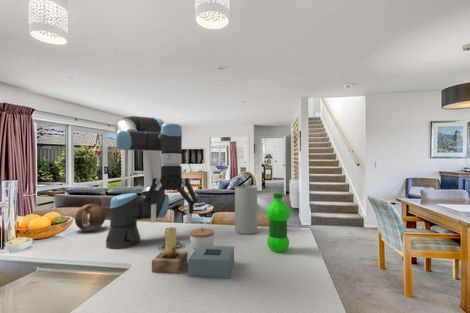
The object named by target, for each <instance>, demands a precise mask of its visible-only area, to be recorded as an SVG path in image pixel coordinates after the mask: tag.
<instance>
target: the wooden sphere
mask: <svg viewBox="0 0 470 313" xmlns="http://www.w3.org/2000/svg"><path fill="white" fill-rule="evenodd" d="M106 215H107V214H106V211H105V210H104V208H103V207H102V206H101V205H98V204H97V203H96V204H95V203H89V204H88V203H87V204H84V205H83V206H81V207H80V208H79V209H78V210H77V211H76V214H75V217H74V222H75V225H76V227H77V228H78V229H80V230H81V231H85V232H91V231H96V230H98V229H99V228H101V227H102V225H103V224H104V223H105V220H106V217H107V216H106Z"/></svg>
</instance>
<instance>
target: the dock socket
mask: <svg viewBox="0 0 470 313" xmlns="http://www.w3.org/2000/svg"><path fill="white" fill-rule="evenodd" d="M234 264H235V246H232V245H231V246H230V245H229V246H228V245H211V246H210V245H199V246H198V247H197V248H196V250H195V249H194V251H193V252H192V253H191V255H190V256H189V257H188V277H193V278H195V277H196V278H197V277H198V278H212V279H231V274H232V270H233V267H234Z"/></svg>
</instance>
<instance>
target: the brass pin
mask: <svg viewBox="0 0 470 313" xmlns="http://www.w3.org/2000/svg"><path fill="white" fill-rule="evenodd" d="M164 231H165V232H164V235H165V236H164V251H165V258H167V259H175V258H176V251H177V227H170V226H169V227H166V228H165V230H164Z"/></svg>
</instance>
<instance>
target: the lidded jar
mask: <svg viewBox="0 0 470 313" xmlns="http://www.w3.org/2000/svg"><path fill="white" fill-rule="evenodd" d="M214 234H215V231H214V230H213V229H211V228H204V227H200V228H195V229H192V230H190V231H189V239H190V244H191V247H192V248H193V249H194V251H195V250H196V248H197V247H198V246H199V245H210V246H213V243H214Z"/></svg>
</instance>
